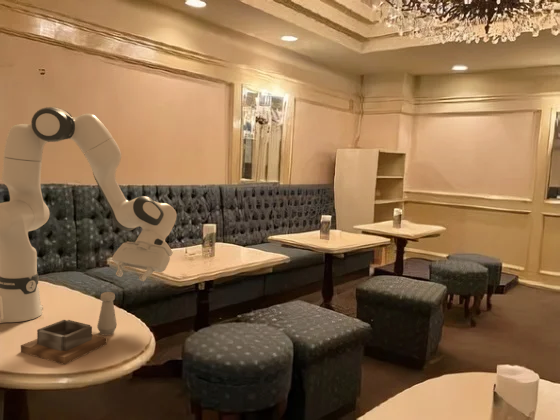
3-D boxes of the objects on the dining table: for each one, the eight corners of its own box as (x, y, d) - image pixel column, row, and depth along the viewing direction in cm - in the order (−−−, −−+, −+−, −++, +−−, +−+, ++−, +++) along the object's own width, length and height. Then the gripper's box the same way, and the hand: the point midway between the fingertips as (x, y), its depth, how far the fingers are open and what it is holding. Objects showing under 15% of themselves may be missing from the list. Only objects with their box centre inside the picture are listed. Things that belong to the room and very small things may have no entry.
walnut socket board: (20, 352, 137) (20, 331, 136) (65, 333, 152) (65, 315, 151) (64, 364, 131) (64, 343, 130) (106, 344, 146) (106, 324, 145)
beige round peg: (110, 337, 151) (111, 296, 150) (93, 334, 152) (94, 294, 151) (120, 330, 157) (120, 291, 155) (103, 328, 158) (104, 289, 156)
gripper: (120, 235, 172) (100, 268, 164) (169, 242, 164) (150, 277, 156) (128, 245, 176) (109, 278, 168) (176, 253, 169) (158, 287, 161)
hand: (129, 277), depth 162 cm, fingers open, 8 cm apart
